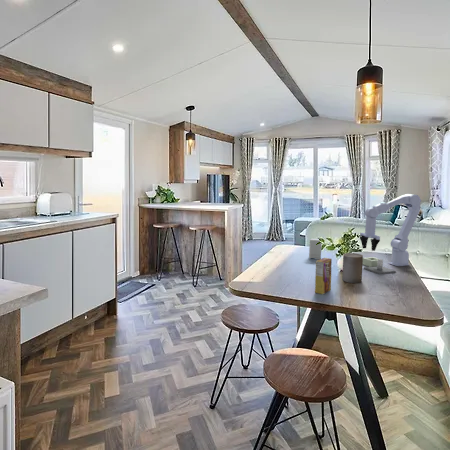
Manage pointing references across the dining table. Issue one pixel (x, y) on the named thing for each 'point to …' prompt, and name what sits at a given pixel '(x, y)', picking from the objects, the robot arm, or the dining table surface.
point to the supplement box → (315, 249)
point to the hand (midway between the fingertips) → (368, 249)
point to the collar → (370, 261)
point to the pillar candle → (352, 267)
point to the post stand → (380, 268)
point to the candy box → (323, 275)
